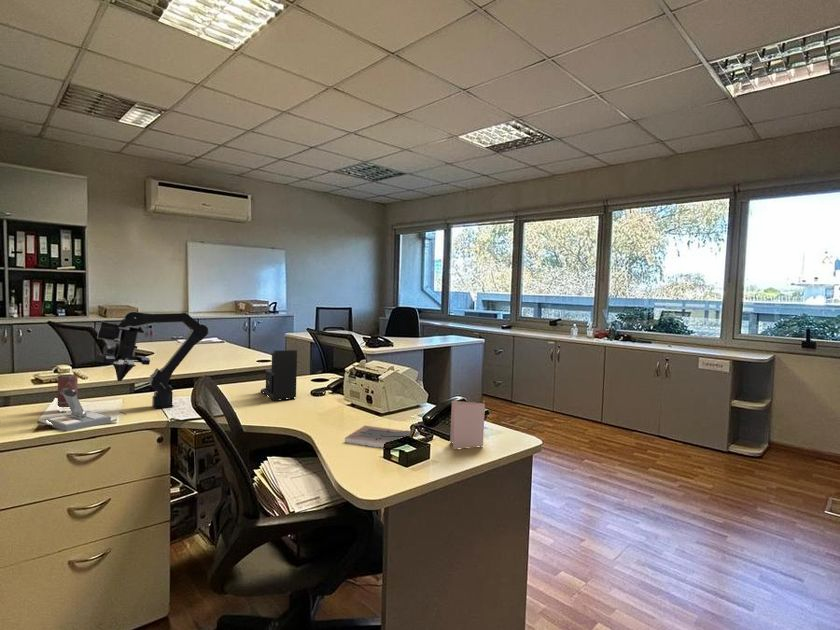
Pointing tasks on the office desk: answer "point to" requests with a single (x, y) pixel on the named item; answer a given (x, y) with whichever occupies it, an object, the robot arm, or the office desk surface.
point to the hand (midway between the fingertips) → (119, 380)
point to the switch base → (79, 421)
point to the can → (66, 382)
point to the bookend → (282, 375)
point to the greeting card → (467, 424)
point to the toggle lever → (73, 402)
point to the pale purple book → (376, 436)
